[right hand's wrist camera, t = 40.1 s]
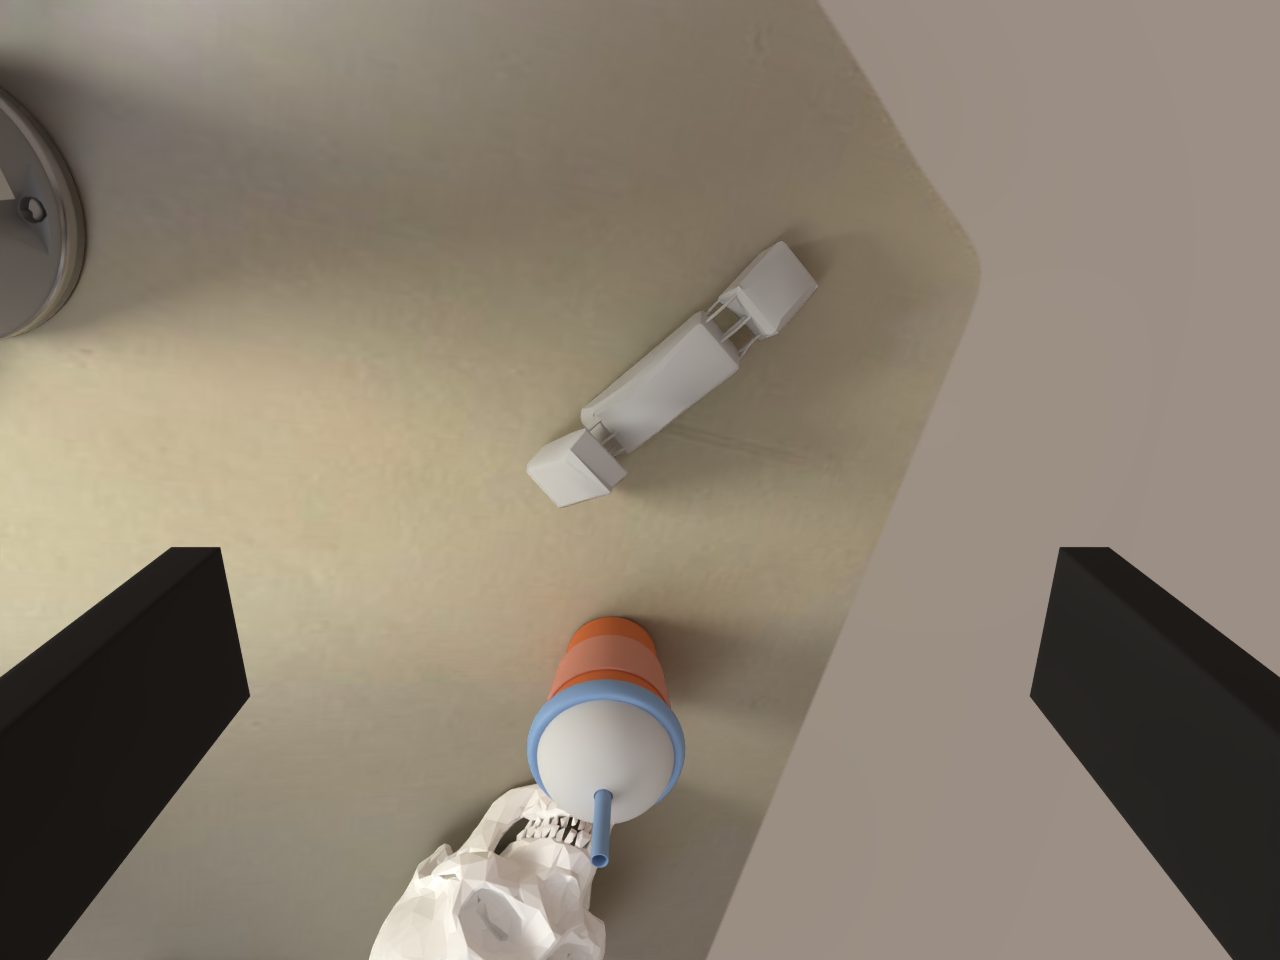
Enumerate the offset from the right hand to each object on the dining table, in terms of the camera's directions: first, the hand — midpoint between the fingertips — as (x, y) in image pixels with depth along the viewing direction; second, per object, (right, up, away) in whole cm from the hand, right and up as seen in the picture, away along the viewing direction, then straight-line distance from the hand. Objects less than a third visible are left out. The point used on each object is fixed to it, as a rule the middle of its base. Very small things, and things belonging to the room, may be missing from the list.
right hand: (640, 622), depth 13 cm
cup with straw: (-2, -10, +43) cm, 44 cm away
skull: (-10, -27, +49) cm, 56 cm away
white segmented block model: (+2, +9, +36) cm, 37 cm away
